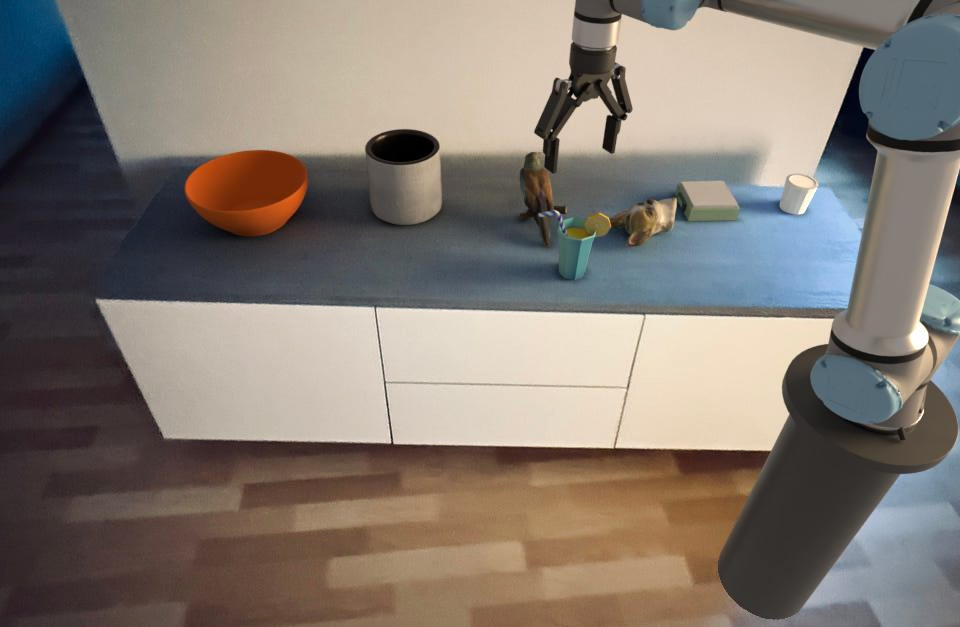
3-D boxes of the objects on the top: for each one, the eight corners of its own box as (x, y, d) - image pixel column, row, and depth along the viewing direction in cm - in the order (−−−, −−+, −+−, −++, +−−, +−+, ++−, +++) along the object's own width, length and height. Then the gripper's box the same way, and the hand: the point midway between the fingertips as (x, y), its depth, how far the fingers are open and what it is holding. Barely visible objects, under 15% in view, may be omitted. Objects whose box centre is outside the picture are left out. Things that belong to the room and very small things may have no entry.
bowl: (336, 221, 148) (330, 181, 142) (230, 268, 136) (218, 226, 129) (278, 176, 162) (270, 138, 155) (177, 215, 149) (163, 175, 143)
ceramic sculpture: (693, 204, 139) (631, 224, 135) (686, 238, 144) (626, 258, 140) (662, 179, 146) (602, 198, 142) (657, 212, 152) (599, 231, 148)
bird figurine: (575, 245, 141) (571, 147, 137) (528, 248, 140) (523, 150, 137) (561, 240, 154) (557, 150, 150) (518, 243, 153) (513, 153, 150)
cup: (536, 286, 132) (542, 222, 122) (530, 262, 138) (535, 199, 128) (606, 282, 133) (617, 218, 123) (597, 258, 139) (607, 196, 129)
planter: (456, 209, 152) (456, 147, 142) (400, 237, 144) (394, 173, 134) (413, 181, 161) (409, 120, 150) (357, 206, 153) (349, 143, 142)
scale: (736, 220, 150) (741, 205, 148) (684, 221, 150) (688, 206, 147) (721, 193, 158) (725, 179, 156) (671, 194, 158) (675, 180, 155)
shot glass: (800, 199, 157) (810, 172, 152) (813, 215, 152) (824, 188, 147) (771, 199, 157) (781, 173, 152) (783, 216, 151) (793, 189, 147)
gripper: (635, 22, 117) (617, 134, 131) (517, 50, 107) (512, 169, 121) (666, 35, 112) (644, 151, 126) (546, 66, 102) (536, 188, 116)
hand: (579, 160), depth 124 cm, fingers open, 13 cm apart
